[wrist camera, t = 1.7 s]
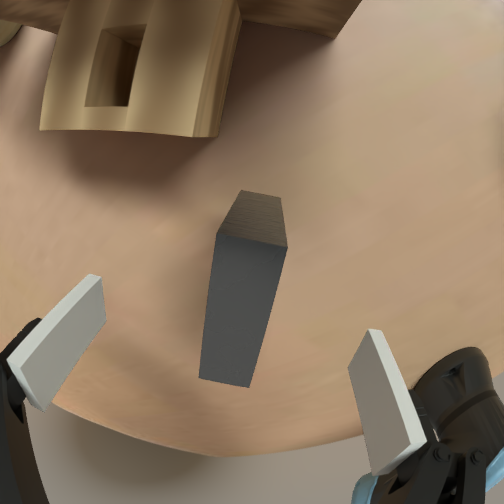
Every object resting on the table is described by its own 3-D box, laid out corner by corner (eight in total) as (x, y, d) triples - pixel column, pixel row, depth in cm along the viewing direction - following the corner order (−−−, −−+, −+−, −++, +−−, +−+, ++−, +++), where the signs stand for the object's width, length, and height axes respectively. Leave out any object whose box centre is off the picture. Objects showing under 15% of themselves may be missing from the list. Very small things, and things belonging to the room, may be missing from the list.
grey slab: (278, 185, 27) (287, 247, 12) (260, 269, 30) (249, 387, 15) (247, 178, 27) (216, 233, 12) (232, 263, 30) (198, 378, 15)
